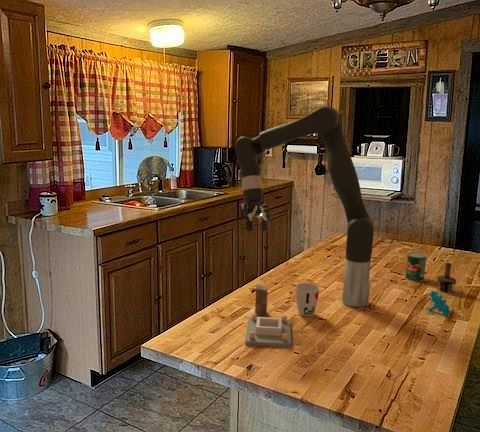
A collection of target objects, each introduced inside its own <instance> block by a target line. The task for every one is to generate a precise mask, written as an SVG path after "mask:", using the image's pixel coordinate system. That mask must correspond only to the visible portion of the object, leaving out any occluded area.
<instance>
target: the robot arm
mask: <svg viewBox="0 0 480 432" xmlns="http://www.w3.org/2000/svg"><path fill="white" fill-rule="evenodd" d="M315 134H316V135H317V134H320V135H321V136H320V137H321V138H322V141H323V143H324V144H323V145H324V147H325V153H326V162H327V169H328V173H329V176H330V180H331V182H332V185H333V188H334V191H335V193H336V194H337V196H338V198H339V201H340V202H341V204H342V206H343V208H344V212H345V217H346V221H347V233H346V244H345V245H346V247H345V258H344V259H345V260H344V261H345V262H344V273H343V284H342V297H341V298H342V299H341V301H342V303H343V304H344V305H346V306H349V307H351V308H353V307H354V308H363V307H369V300H370V289H371V281H370V275H371V274H370V273H371V261H372V253H373V245H374V230H375V229H374V225H373V224H374V223H373V222H372V218H370V215H369V213H368V210H367V208H366V207H365V204H364V201H363V198H362V197H363V196H362V190H361V186H360V182H359V177H358V173H357V171H356V168H355V164H354V162H353V159H352V156H351V154H350V153H351V152H350V150H349V149H348V147H347V144H346V140H345V139H344V134H343V129H342V123H341V119H340V115H339V113H338V111H337V110H336V108H334V107H332V106H329V105H326V106H320V107H317V108H316V109H315V110H314V111H312V112H310V113H308V114H307V115H305V116H303V117H301V118H299V119H297V120H294V121H291V122H287V123H285V124H284V123H283V124H281V125H278V126H275V127H272V128H269V129H266V130H264V131H261V132H259V135H258V136H256V137H253V138H250V137H248V136H240V137H238V138H237V140H236V141H235V145H234V147H235V148H234V150H235V155H236V159H237V162H238V165H239V167H240V177H241V191H242V196H243V197H242V198H243V202H244V203H242V204H240V205H239V210H240V219H241V221H244V222H245V225H246V226H245V227H246V231H247V232H248V233H252V232H253V231H254V228H253V221H252V220H253V218H254V217H257V218H258V220H260V227H261V232H263V233H265V232H267V231H268V222H267V221H268V220H271V216H270V209H269V205H268V203H267V204H265V203H264V204H263V203H262V201H264V192H263V184H262V180H261V179H262V178H261V174H260V168H259V167H260V166H259V163H258V162H257V160H256V158H255V157H257V156H259V155H261V154H262V153H264V152H266V151H267V150H271V149H273V148H277V147H279V146H280V147H281V146H282V145H284V144H287V143H289V142H292V141H294V140H297V139H300V138H302V137H305V136H309V135H315Z"/></svg>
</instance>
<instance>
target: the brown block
mask: <svg viewBox="0 0 480 432" xmlns="http://www.w3.org/2000/svg"><path fill="white" fill-rule="evenodd" d="M268 287H269V286H268V285H258V284H256V287H255V303H254V304H255V306H254V314H257V317H267V315H268V314H267V312H268V311H267V310H268V291H269V289H268Z"/></svg>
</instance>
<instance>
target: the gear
mask: <svg viewBox="0 0 480 432" xmlns="http://www.w3.org/2000/svg"><path fill="white" fill-rule="evenodd" d="M429 297H430V301H431V302H432V303H433V305H432V306H431V307H429V308H428V311H429V312H431V311H433V310H435V309H437V311H438V312H439V313H441V314H442V315H443V316H444V317H445V316H447V317H449V316H450V314H451V313H452V312H451V310H450V306H449V305H448V304H447V299H446V298H444V299H443V296H442V295H441V294H439V292H438V291H434V290H432V291H430V294H429ZM448 315H449V316H448Z"/></svg>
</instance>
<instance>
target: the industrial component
mask: <svg viewBox="0 0 480 432" xmlns="http://www.w3.org/2000/svg"><path fill="white" fill-rule="evenodd" d="M451 271H452V263H451V262H449V261H447V262H445V265H444V273H443V275H439V276H437V278H436V282H437V283H439V287H438V290H439V291H440V292H443V293H444V292H445V293H447V292H448V293H447V294H450V293H451V292H452V289H453V286H455V285H456V284H457V279H456V278H454V277H453V276H451Z"/></svg>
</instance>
